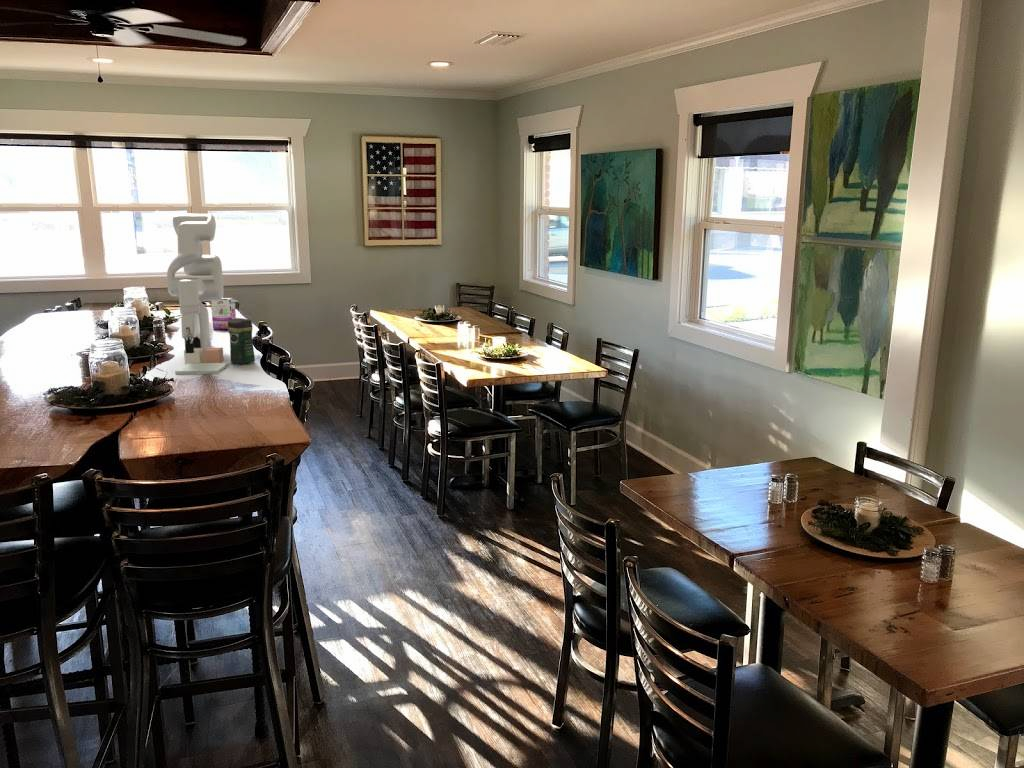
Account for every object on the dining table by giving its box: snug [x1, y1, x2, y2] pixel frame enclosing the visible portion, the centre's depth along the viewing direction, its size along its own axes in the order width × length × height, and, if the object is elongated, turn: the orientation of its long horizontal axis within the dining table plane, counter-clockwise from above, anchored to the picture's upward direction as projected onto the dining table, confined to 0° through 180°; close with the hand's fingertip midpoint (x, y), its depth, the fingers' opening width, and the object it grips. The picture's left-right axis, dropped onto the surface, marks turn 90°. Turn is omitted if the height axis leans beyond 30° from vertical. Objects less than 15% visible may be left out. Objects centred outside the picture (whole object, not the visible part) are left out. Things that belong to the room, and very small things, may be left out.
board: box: [175, 362, 229, 375], centre depth 320 cm, size 16×16×1 cm
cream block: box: [183, 348, 205, 365], centre depth 333 cm, size 6×6×6 cm
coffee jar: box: [227, 317, 256, 365], centre depth 333 cm, size 10×8×19 cm
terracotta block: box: [203, 347, 225, 363], centre depth 334 cm, size 6×6×6 cm
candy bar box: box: [210, 297, 237, 330], centre depth 419 cm, size 11×5×16 cm, turn 81°
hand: (193, 351), depth 331 cm, fingers open, 9 cm apart
